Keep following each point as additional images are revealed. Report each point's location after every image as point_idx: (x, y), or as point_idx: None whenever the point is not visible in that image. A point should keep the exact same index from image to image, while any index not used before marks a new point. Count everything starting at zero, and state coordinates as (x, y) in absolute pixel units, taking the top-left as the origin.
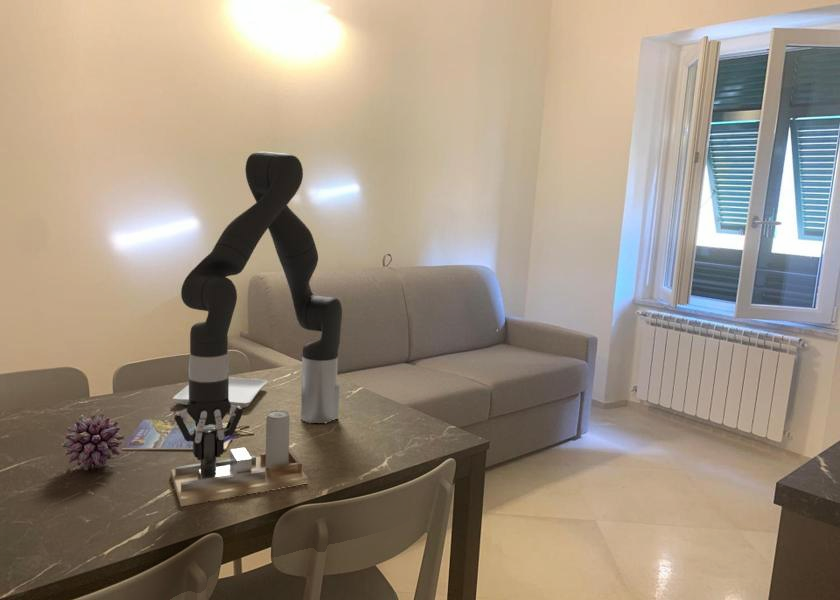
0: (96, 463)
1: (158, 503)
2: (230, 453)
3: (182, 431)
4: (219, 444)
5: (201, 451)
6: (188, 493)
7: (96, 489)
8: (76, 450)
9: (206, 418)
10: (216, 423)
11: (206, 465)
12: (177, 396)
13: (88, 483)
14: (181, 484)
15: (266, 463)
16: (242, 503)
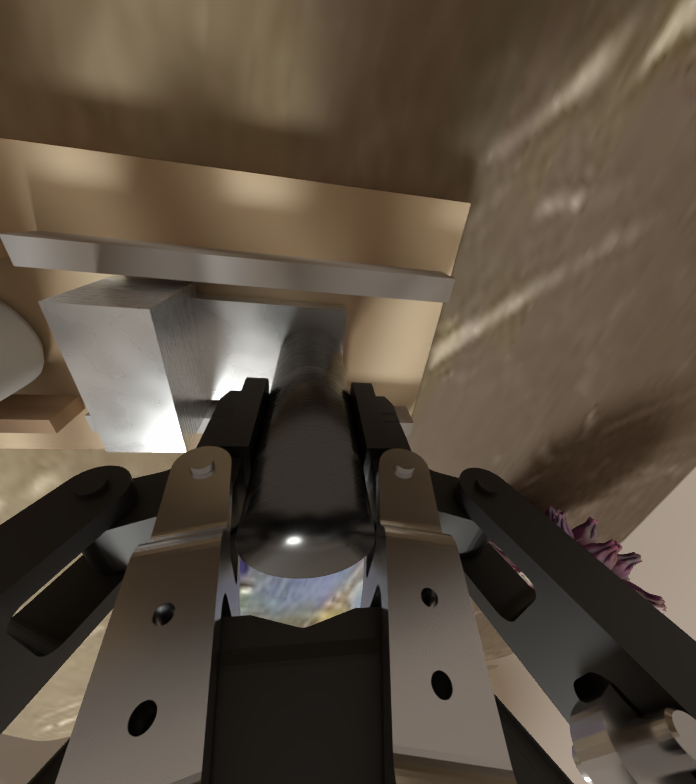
0: (560, 512)
1: (504, 276)
2: (193, 436)
3: (580, 554)
4: (236, 424)
5: (361, 406)
6: (422, 247)
7: (572, 430)
8: (618, 556)
9: (358, 768)
10: (204, 639)
11: (328, 355)
12: None
13: (566, 461)
14: (454, 282)
15: (21, 346)
16: (191, 60)
